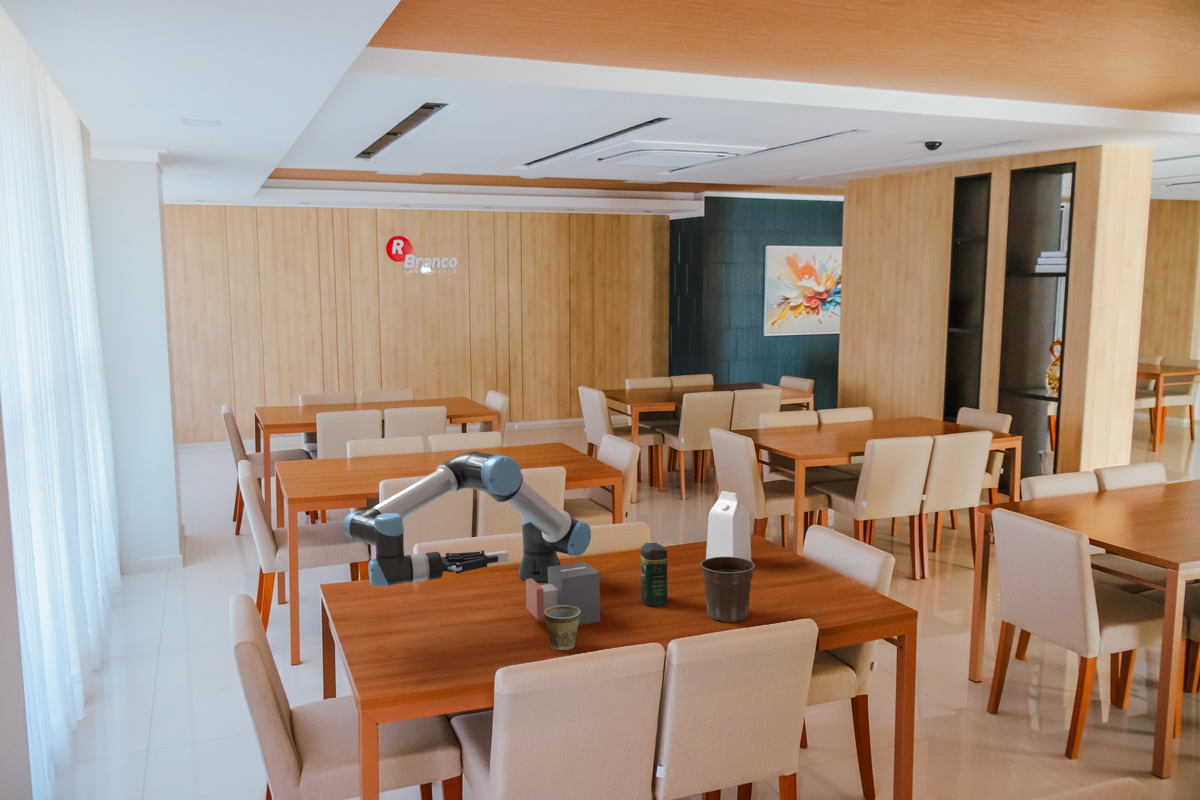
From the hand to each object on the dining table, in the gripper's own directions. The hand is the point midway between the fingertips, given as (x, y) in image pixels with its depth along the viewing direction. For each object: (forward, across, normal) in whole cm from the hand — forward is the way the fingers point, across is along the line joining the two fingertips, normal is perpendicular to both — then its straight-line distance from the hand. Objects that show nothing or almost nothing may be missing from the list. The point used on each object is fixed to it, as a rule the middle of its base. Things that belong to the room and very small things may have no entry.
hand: (507, 555), depth 245 cm
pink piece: (+14, 0, -19) cm, 23 cm away
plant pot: (+63, +17, -22) cm, 69 cm away
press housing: (+20, 0, -22) cm, 30 cm away
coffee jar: (+49, -2, -22) cm, 54 cm away
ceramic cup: (+10, +17, -22) cm, 30 cm away
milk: (+92, -27, -22) cm, 98 cm away
